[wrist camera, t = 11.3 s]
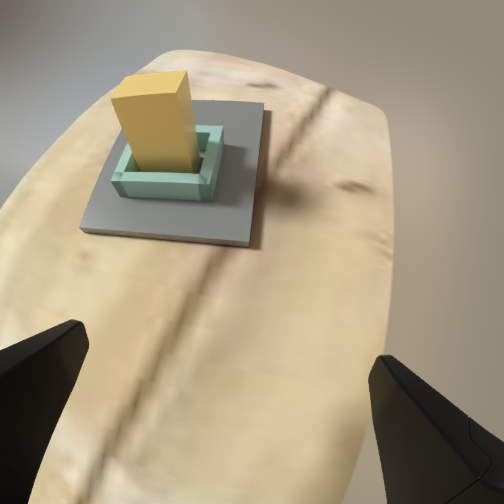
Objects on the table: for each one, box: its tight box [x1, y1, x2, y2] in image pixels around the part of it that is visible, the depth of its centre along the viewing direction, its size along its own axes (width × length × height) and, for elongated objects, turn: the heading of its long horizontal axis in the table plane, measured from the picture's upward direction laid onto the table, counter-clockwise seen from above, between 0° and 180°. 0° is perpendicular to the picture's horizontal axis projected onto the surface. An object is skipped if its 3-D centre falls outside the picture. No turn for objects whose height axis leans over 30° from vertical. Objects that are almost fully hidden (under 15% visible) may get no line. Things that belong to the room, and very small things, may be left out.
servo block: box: [111, 71, 201, 174], centre depth 21 cm, size 3×5×10 cm, turn 86°
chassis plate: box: [79, 100, 264, 247], centre depth 26 cm, size 18×16×4 cm
